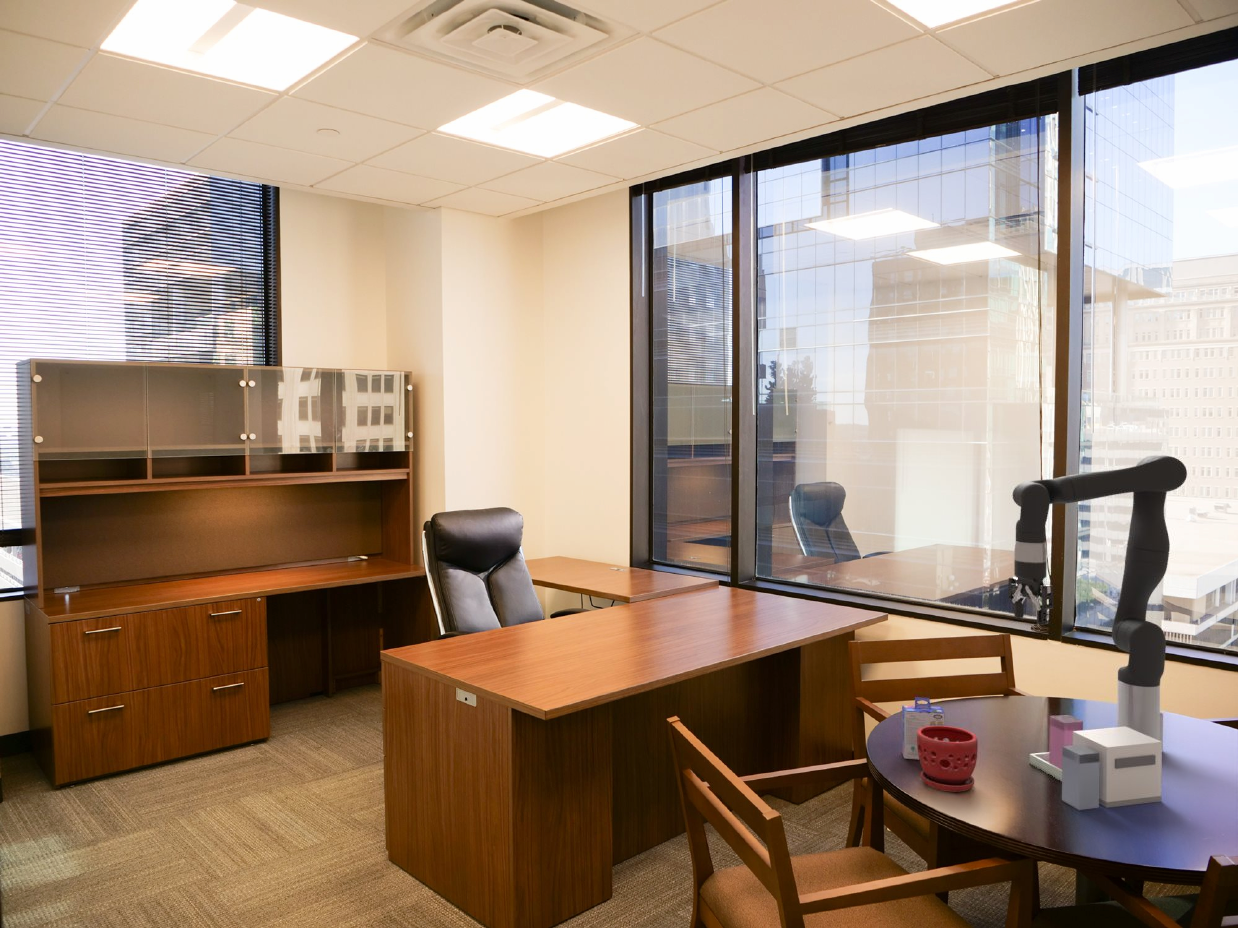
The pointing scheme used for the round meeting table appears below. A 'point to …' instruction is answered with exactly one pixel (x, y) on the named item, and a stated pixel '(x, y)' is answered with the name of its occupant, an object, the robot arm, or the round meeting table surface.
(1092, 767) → the slate blue cartridge
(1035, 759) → the parts tray
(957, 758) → the plant pot
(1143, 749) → the printer unit
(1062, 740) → the magenta cartridge
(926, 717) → the ink cartridge box
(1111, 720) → the round meeting table surface
